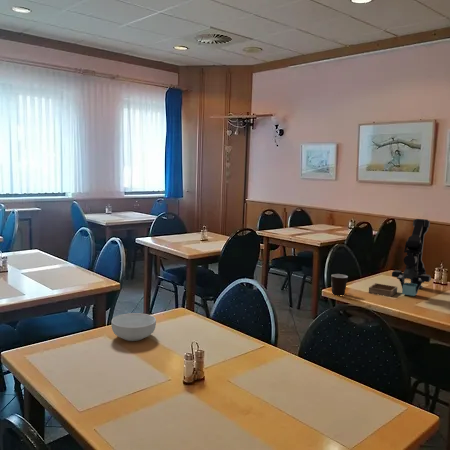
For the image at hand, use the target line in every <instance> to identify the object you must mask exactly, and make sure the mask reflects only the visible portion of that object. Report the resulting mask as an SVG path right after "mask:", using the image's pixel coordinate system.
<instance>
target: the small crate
mask: <svg viewBox="0 0 450 450" xmlns="http://www.w3.org/2000/svg"><path fill="white" fill-rule="evenodd" d="M416 288H417V284H412V283H411V282H410V283H409V282H404V284H403V289H402V288H401V289H402V290H401V295H407V296H411V297H415V296H417V294H418V292H417V293H416Z"/></svg>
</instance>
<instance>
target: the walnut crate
mask: <svg viewBox="0 0 450 450" xmlns="http://www.w3.org/2000/svg"><path fill="white" fill-rule="evenodd" d="M397 292H398V286H393V285H389V284H382V283H373V284H372V285H371V286H369V287H368V294H372V293H374V294H373V295H377V294H379V295H378V296H383V295H384V297H389V296H390V297H389V298H392V297H393V296H394V295H396V294H397Z"/></svg>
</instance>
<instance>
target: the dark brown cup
mask: <svg viewBox="0 0 450 450" xmlns="http://www.w3.org/2000/svg"><path fill="white" fill-rule="evenodd" d="M348 277H349V276H348V275H346V274H340V273H333V274H331V276H330V280H331V283H330V284H331V294H332V293H333V294H334V295H333V294H332V295H333V296H335V295H337V296H336V297H341V296H340V295H344V294H345V293H346V290H347V289H346V288H347V285H348ZM338 295H339V296H338ZM345 295H346V294H345ZM345 295H344V296H345Z"/></svg>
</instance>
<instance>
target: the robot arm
mask: <svg viewBox="0 0 450 450" xmlns="http://www.w3.org/2000/svg"><path fill="white" fill-rule="evenodd" d="M430 226H431V221H430V220H429V219H425V218H416V219H413V222H412V227H413V229H412V233H411V235H410V236H408V238H407V240H406V241H405V244H404V245H405V246H404V251H403V253H406V255H405V256H404V258H403V264H404V265H405V267H404V271H402V270H398V269H395V270H393V271H392V272H391V277H393V278H396V279H397V280H398V281H399V283H400V284H401V285H400V286H401V289H403V284H404V283H405V280H406V279H408V280H410V283H412V284H417V288H416V293H417V294H418V291H419V290H421V289H423V285H422V284H423V283H425V282H427V283H429V282H430V281H431V280H432V276H431V274H427V270H426V268H425V264H424V262H423V260H422V259H423V251H424V245H425V244H424V242H425V235H426V234H427V232H429V228H430Z"/></svg>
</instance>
